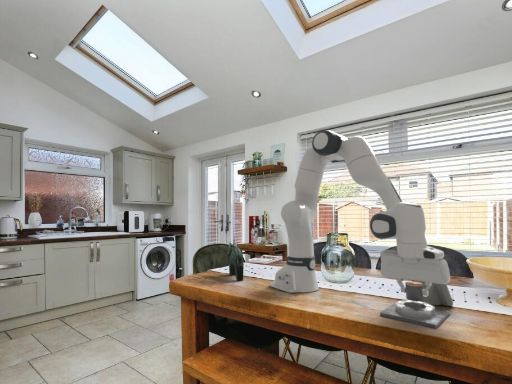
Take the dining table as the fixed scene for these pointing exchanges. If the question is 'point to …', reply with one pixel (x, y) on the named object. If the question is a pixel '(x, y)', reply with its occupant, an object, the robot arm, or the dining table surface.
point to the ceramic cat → (235, 261)
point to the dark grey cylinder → (414, 291)
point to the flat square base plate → (416, 313)
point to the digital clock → (437, 294)
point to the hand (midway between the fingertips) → (414, 293)
